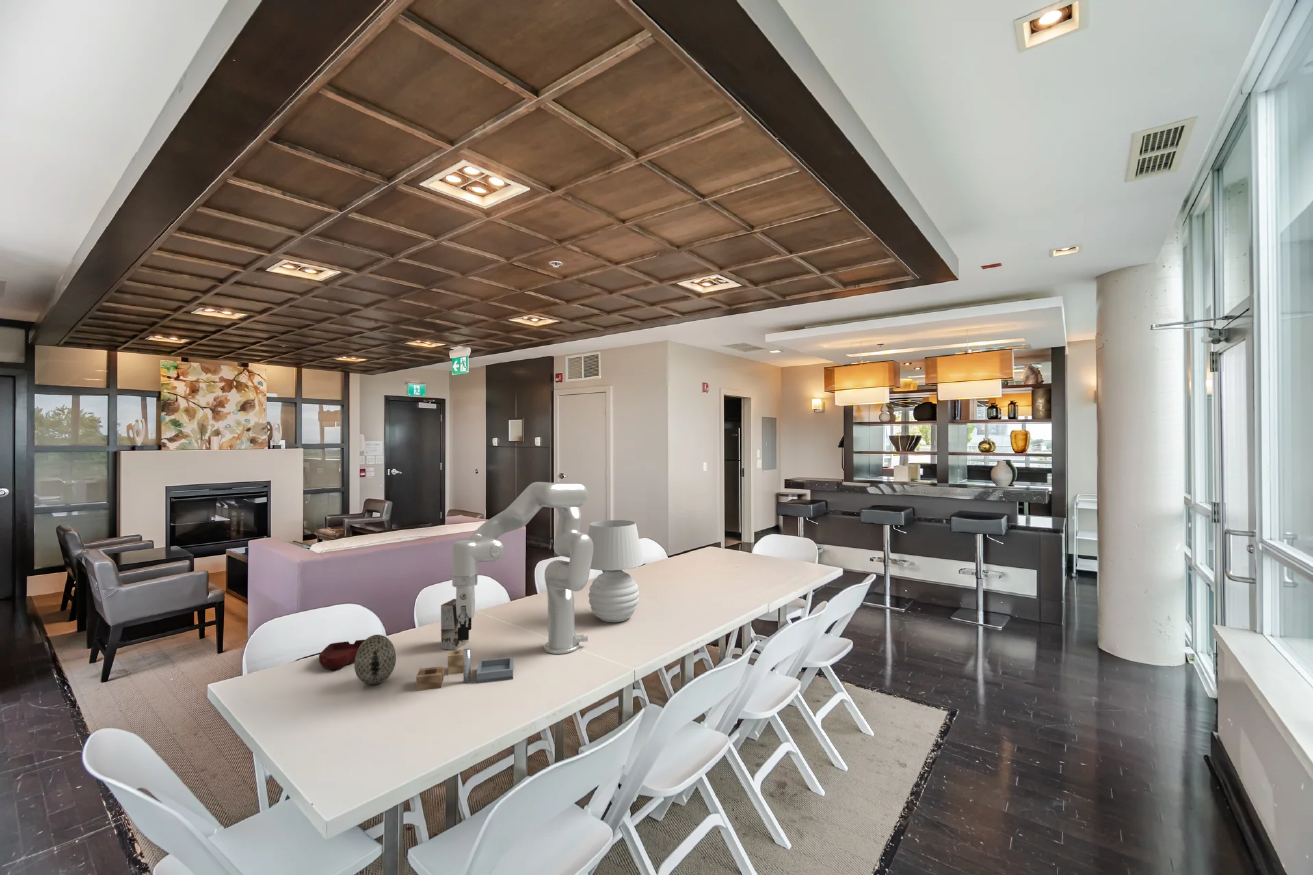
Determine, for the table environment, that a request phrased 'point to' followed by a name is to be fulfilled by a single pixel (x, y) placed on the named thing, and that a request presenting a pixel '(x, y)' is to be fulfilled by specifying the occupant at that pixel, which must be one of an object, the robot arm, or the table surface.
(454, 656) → the oak block
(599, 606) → the table lamp
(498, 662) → the tray
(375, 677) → the decorative egg
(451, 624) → the coffee box
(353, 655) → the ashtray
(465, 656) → the cylinder
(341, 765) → the table surface
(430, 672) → the tan wooden square frame
